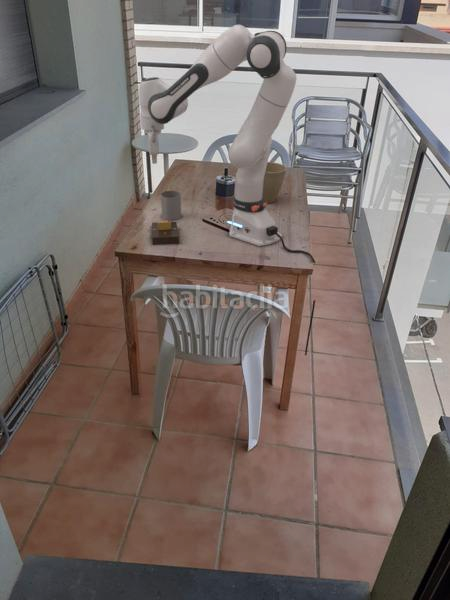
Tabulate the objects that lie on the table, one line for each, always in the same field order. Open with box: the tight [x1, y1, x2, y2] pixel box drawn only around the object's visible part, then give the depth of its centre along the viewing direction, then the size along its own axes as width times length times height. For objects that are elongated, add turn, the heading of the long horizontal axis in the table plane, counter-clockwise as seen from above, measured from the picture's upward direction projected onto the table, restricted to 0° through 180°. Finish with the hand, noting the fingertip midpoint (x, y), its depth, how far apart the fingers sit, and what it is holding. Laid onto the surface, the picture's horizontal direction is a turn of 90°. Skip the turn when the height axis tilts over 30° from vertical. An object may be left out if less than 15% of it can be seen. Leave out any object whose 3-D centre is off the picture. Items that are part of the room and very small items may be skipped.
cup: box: [160, 190, 182, 221], centre depth 201 cm, size 8×8×10 cm
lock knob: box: [157, 220, 172, 230], centre depth 185 cm, size 5×1×3 cm, turn 100°
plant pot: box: [262, 161, 287, 204], centre depth 217 cm, size 15×15×16 cm
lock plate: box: [151, 221, 180, 245], centre depth 186 cm, size 14×10×3 cm
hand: (154, 159), depth 188 cm, fingers open, 8 cm apart
